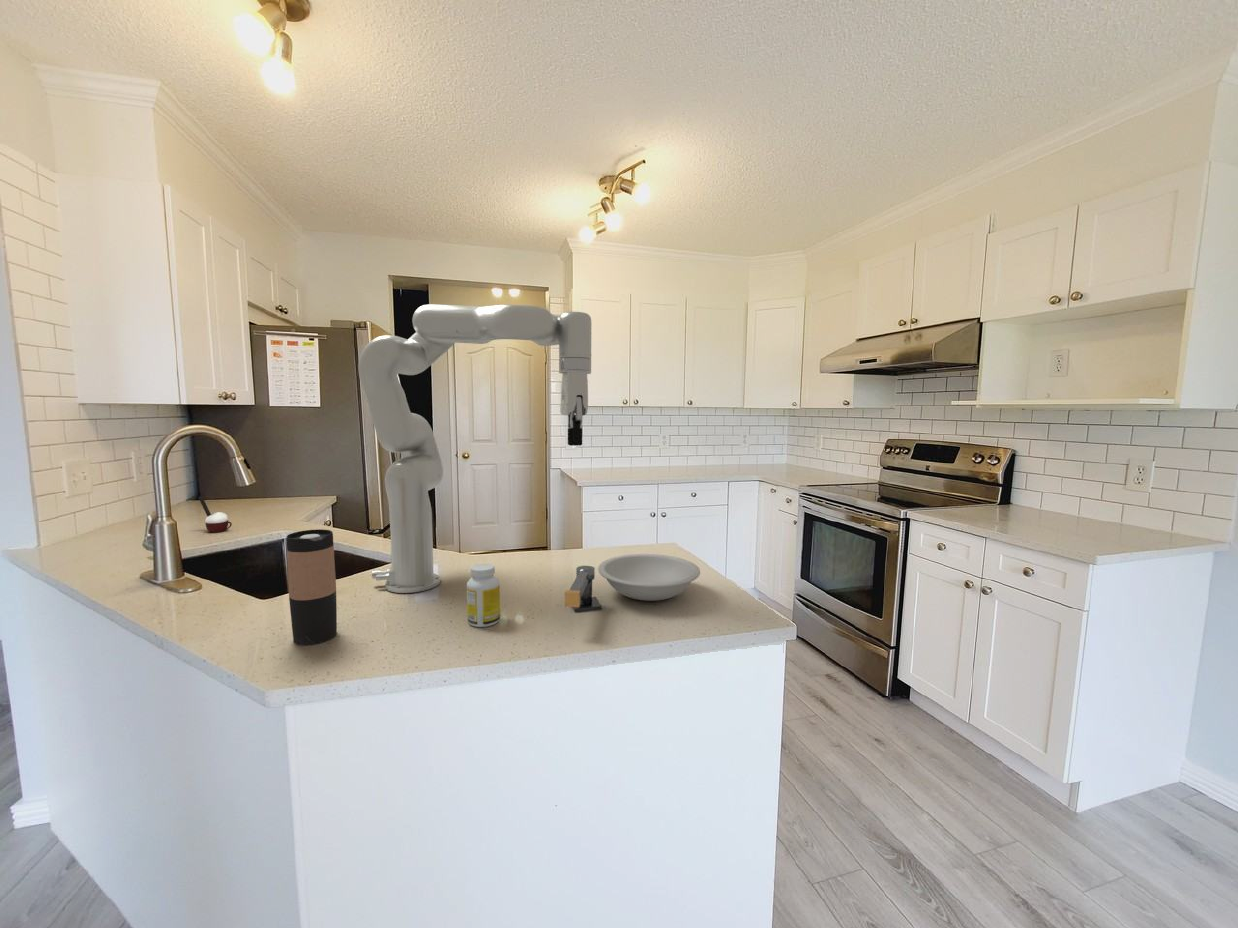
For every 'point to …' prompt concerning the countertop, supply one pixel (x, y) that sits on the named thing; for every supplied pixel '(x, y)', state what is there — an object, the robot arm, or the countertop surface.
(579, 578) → the rail
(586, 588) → the dark grey faucet base
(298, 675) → the countertop surface
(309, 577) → the travel mug
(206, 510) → the cocoa
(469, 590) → the pill bottle
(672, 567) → the round sink basin
